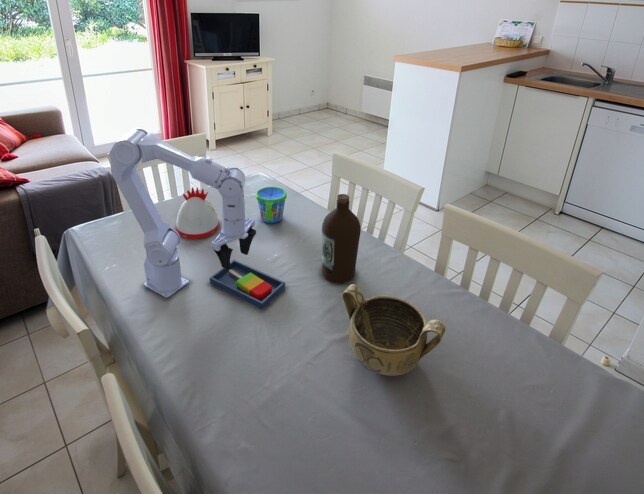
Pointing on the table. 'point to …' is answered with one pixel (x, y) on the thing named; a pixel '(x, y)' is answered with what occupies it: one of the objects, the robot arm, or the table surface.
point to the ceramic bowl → (388, 332)
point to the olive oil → (340, 242)
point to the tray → (227, 283)
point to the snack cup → (271, 203)
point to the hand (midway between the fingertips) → (235, 260)
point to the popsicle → (253, 285)
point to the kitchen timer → (196, 216)
